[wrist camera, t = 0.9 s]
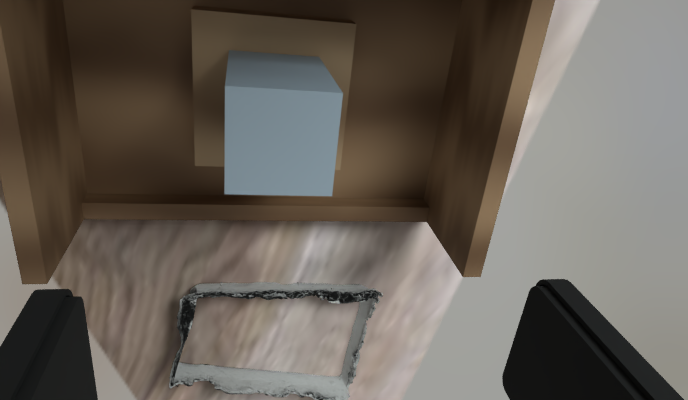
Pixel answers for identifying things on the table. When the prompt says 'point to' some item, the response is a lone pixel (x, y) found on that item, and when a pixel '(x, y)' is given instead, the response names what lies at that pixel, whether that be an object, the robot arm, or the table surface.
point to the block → (280, 125)
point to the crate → (209, 112)
